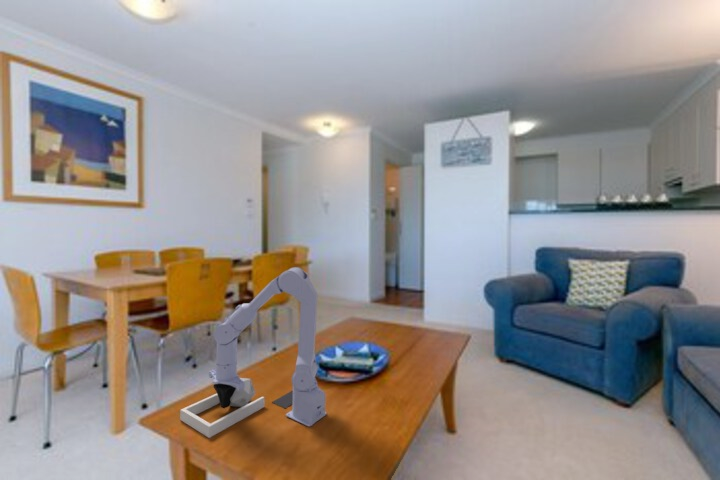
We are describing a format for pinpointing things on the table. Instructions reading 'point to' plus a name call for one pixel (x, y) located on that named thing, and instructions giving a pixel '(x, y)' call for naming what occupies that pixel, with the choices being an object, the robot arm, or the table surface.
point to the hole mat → (285, 400)
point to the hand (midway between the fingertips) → (225, 406)
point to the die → (243, 394)
